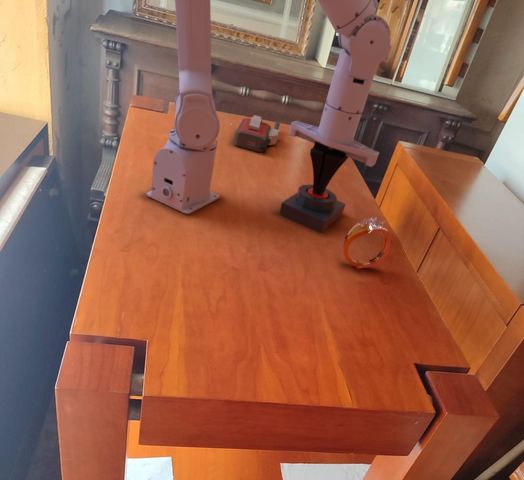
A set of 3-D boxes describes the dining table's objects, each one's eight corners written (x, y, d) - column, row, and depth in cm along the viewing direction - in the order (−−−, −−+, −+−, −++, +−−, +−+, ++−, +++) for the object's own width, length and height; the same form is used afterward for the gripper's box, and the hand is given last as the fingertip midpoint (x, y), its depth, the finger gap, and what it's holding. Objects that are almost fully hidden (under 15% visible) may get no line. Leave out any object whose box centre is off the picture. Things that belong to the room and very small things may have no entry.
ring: (337, 269, 72) (355, 220, 67) (334, 258, 74) (351, 209, 69) (381, 276, 73) (403, 229, 68) (377, 265, 76) (397, 218, 70)
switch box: (321, 233, 80) (328, 210, 77) (278, 214, 82) (284, 192, 79) (341, 215, 87) (349, 194, 84) (302, 198, 89) (308, 177, 86)
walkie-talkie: (272, 158, 101) (280, 130, 117) (277, 136, 98) (285, 111, 114) (231, 147, 101) (245, 121, 116) (235, 125, 98) (248, 101, 113)
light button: (320, 209, 81) (323, 199, 80) (301, 201, 82) (304, 191, 81) (328, 203, 84) (331, 193, 83) (309, 195, 85) (312, 186, 83)
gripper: (395, 119, 74) (364, 202, 83) (311, 88, 78) (290, 171, 86) (382, 127, 69) (351, 214, 78) (293, 93, 72) (272, 181, 81)
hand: (318, 192), depth 82 cm, fingers closed, pressing on light button
